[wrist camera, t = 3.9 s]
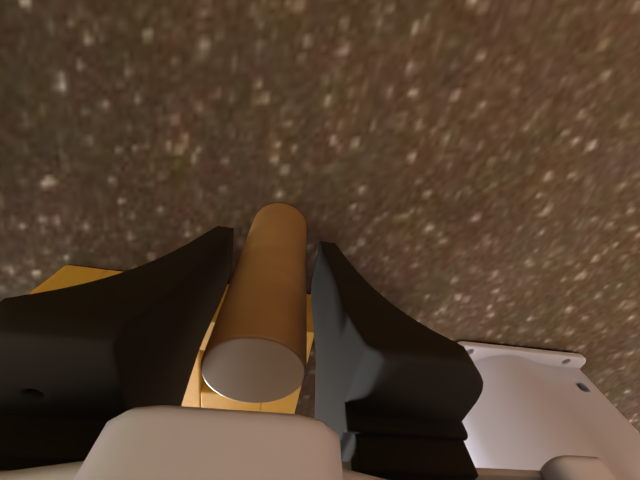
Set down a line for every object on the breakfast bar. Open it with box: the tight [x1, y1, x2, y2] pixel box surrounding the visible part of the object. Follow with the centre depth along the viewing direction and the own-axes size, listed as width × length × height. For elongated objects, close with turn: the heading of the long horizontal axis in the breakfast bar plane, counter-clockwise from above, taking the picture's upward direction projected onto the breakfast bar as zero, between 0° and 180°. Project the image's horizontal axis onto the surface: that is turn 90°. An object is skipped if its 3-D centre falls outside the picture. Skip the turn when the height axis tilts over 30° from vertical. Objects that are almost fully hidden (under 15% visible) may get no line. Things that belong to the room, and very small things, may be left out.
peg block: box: [29, 265, 314, 414], centre depth 18 cm, size 13×18×3 cm
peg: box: [200, 203, 307, 403], centre depth 11 cm, size 3×3×8 cm
